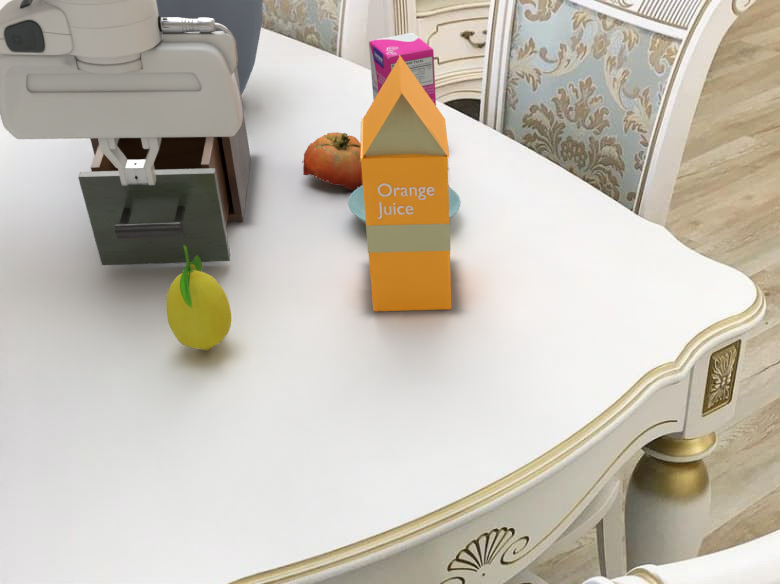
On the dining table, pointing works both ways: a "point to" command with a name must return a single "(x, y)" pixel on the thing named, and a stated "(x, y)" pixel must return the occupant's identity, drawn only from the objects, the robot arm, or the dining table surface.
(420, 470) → the dining table surface
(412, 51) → the supplement box
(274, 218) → the dining table surface
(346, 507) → the dining table surface
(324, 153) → the tomato
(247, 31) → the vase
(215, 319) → the lemon
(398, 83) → the orange juice
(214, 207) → the drawer
